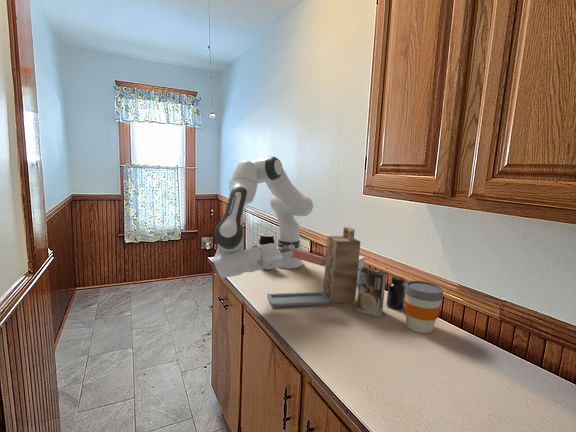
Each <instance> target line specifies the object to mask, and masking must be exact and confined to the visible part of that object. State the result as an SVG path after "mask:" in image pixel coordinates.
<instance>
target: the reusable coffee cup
mask: <svg viewBox="0 0 576 432" xmlns="http://www.w3.org/2000/svg"><path fill="white" fill-rule="evenodd" d="M404 292H405V298H404V308H403V310H404V311H403V312H405V326H406V327H407V328H408V329H410V331H411V330H412V331H413V332H417V333H420V334H430V333H432V332H433V330H434V326H435V323H436V320H438V317H439V314H440V311H441V308H442V304H441V302H442V300H443V299H444V289H443V288H442V287H441V285H440V286H439V285H437V284H436V283H432V282H429V281H424V280H407V281H406V283H405V290H404Z"/></svg>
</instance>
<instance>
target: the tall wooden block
mask: <svg viewBox="0 0 576 432" xmlns="http://www.w3.org/2000/svg"><path fill="white" fill-rule="evenodd" d="M355 232H356V230H355V229H354V228H352V227H350V226H343V233H342V235H327V239H326V241H327V243H326V252H325V253H326V254H325V258H326V259H327V262H326V265H325V267H324V278H323V291H322V292H324V294H325V295H326V296H327V297H328V298H329V299H330V300H331V305H330V306H337V305H338V306H340V305H355V302H356V292H357V285H358V284H357V273H358V263H359V256H360V250H361V241H360V240H358V239H357V238H355ZM356 284H357V285H356Z"/></svg>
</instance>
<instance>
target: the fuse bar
mask: <svg viewBox="0 0 576 432" xmlns="http://www.w3.org/2000/svg"><path fill="white" fill-rule="evenodd" d="M290 250H292V251H293V256H290V257H293V258H297V259H300V260H302V261H303V262H308V263H311V264H314V265H318V266H320V267H324V268H325V265H326V262H327V259H326V256H325V257H324V256H321V255H318V254H315V253H311V252H308V251H304V250H303V249H301V250H299V249H295V248H292V247H289V246H285V245H284V246H283V249H282V253H283V252H284V253H285V252H288V251H290Z"/></svg>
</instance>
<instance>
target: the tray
mask: <svg viewBox="0 0 576 432" xmlns="http://www.w3.org/2000/svg"><path fill="white" fill-rule="evenodd" d="M266 297H267V300H268V302H269V305H270V306H271V309H278V308H279V309H281V308H282V309H283V308H299V307H301V308H302V307H303V308H304V307H321V306H332V305H331V300H330V299H329V298H328V297H327V296H326V295H325V294H324V292H323V291H311V292H310V291H307V292H286V293H285V292H283V293H281V292H280V293H267V296H266Z"/></svg>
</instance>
